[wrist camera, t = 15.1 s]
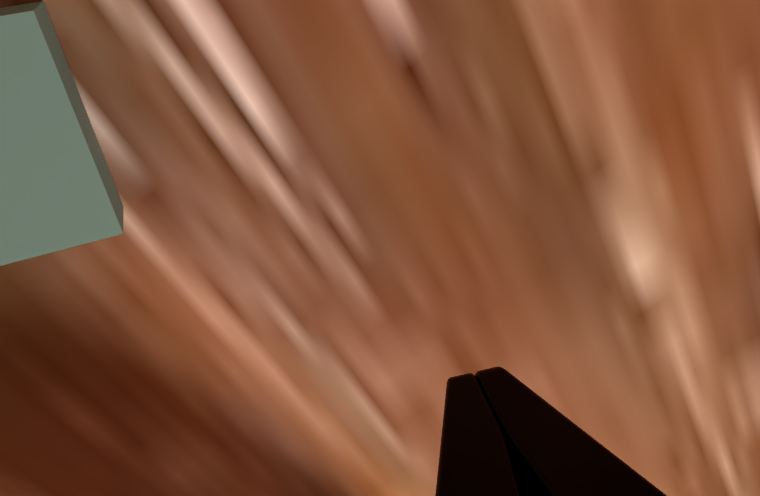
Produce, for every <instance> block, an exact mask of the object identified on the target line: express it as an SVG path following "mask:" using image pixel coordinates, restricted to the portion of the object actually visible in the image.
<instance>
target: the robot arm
mask: <svg viewBox="0 0 760 496" xmlns="http://www.w3.org/2000/svg"><path fill="white" fill-rule="evenodd" d="M436 496H667V495H665V494H664V493H663V492H661V491H660V490H659V489H658V488H656V487H655V486H654V485H652V484H651V483H650V482H649V481H647V480H646V479H645V478H643V477H642V476H641V475H640V474H638V473H637V472H636V471H635V470H633V469H632V468H631V467H629V466H628V465H627V464H626V463H624V462H623V461H622V460H620V459H619V458H618V457H617V456H615V455H614V454H613V453H611V452H610V451H609V450H608V449H606V448H605V447H604V446H602V445H601V444H600V443H599V442H597V441H596V440H595V439H594V438H592V437H591V436H590V435H588V434H587V433H586V432H585V431H583V430H582V429H581V428H579V427H578V426H577V425H576V424H574V423H573V422H572V421H570V420H569V419H568V418H567V417H565V416H564V415H563V414H561V413H560V412H559V411H558V410H556V409H555V408H554V407H553V406H551V405H550V404H549V403H547V402H546V401H545V400H544V399H542V398H541V397H540V396H538V395H537V394H536V393H535V392H533V391H532V390H531V389H529V388H528V387H527V386H526V385H524V384H523V383H522V382H520V381H519V380H518V379H517V378H515V377H514V376H513V375H512V374H510V373H509V372H508V371H506V370H505V369H504V368H502V367H494V368H490V369H485V370H481V371H478V372H477V373H476V374H475V376H474V375H473V374H472V373H468V374H464V375H459V376H455V377H451V378H449V379H448V381H447V388H446V398H445V407H444V417H443V427H442V437H441V447H440V457H439V467H438V477H437V486H436Z"/></svg>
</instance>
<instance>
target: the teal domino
mask: <svg viewBox="0 0 760 496" xmlns="http://www.w3.org/2000/svg"><path fill="white" fill-rule="evenodd" d="M120 234H123V205H122V202H121V200H120V197H119V194H118V192H117V189H116V187H115V184H114V182H113V179H112V177H111V174H110V171H109V169H108V166H107V164H106V161H105V159H104V156H103V153H102V151H101V148H100V146H99V143H98V141H97V138H96V136H95V133H94V130H93V128H92V125H91V123H90V120H89V118H88V115H87V113H86V110H85V107H84V105H83V102H82V100H81V97H80V95H79V92H78V89H77V87H76V84H75V82H74V79H73V77H72V74H71V72H70V69H69V66H68V64H67V61H66V59H65V56H64V54H63V51H62V48H61V46H60V43H59V41H58V38H57V36H56V33H55V31H54V28H53V25H52V23H51V20H50V18H49V15H48V13H47V10H46V8H45V5H44V2H43V1H40V2H34V3H27V4H21V5H15V6H9V7H2V8H0V266H2V265H6V264H10V263H13V262H17V261H21V260H25V259H29V258H33V257H36V256H40V255H44V254H48V253H52V252H55V251H59V250H63V249H67V248H71V247H74V246H78V245H82V244H86V243H90V242H94V241H97V240H101V239H105V238H109V237H113V236H116V235H120Z"/></svg>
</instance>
